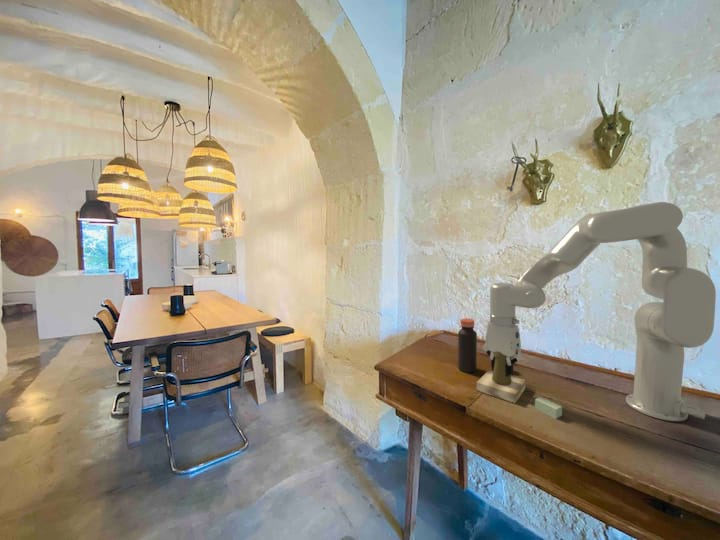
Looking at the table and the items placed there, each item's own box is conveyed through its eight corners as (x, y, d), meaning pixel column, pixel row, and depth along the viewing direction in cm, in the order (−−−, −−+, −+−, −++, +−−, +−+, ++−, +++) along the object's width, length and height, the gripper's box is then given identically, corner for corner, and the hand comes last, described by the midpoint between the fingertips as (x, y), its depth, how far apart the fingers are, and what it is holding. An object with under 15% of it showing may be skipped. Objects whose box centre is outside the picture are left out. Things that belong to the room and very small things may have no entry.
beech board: (525, 388, 98) (525, 379, 97) (515, 403, 89) (515, 394, 89) (489, 377, 106) (489, 369, 106) (476, 390, 97) (476, 382, 97)
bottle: (473, 365, 116) (473, 317, 114) (478, 373, 109) (479, 322, 107) (456, 365, 117) (456, 317, 115) (460, 373, 110) (460, 322, 108)
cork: (509, 386, 93) (510, 353, 92) (489, 381, 96) (490, 350, 95) (513, 378, 98) (513, 347, 97) (494, 374, 101) (494, 344, 100)
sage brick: (561, 416, 82) (562, 406, 82) (555, 419, 81) (556, 409, 81) (540, 405, 88) (541, 396, 87) (534, 408, 86) (534, 399, 86)
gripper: (534, 323, 91) (533, 378, 92) (484, 313, 104) (484, 362, 106) (523, 328, 86) (522, 385, 88) (473, 317, 99) (473, 368, 101)
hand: (501, 372), depth 97 cm, fingers closed on cork, 3 cm apart
